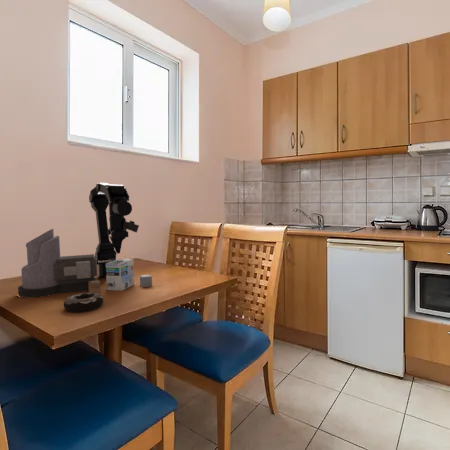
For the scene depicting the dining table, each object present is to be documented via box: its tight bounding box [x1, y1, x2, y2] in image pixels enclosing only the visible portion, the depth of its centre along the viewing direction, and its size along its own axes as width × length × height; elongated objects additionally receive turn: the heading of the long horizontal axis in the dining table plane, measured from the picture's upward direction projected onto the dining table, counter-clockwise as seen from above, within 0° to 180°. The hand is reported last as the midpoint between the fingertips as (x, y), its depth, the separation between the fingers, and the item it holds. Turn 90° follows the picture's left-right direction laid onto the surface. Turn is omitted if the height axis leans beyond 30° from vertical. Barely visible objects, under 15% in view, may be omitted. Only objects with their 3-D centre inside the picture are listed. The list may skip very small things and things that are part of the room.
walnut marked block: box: [88, 279, 101, 294], centre depth 122 cm, size 4×4×4 cm
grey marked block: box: [139, 274, 153, 288], centre depth 130 cm, size 4×4×4 cm
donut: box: [63, 291, 104, 313], centre depth 103 cm, size 12×12×4 cm
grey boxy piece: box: [17, 228, 98, 298], centre depth 125 cm, size 30×16×24 cm, turn 111°
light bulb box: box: [105, 258, 135, 292], centre depth 128 cm, size 11×7×11 cm, turn 168°
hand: (118, 253), depth 132 cm, fingers closed
